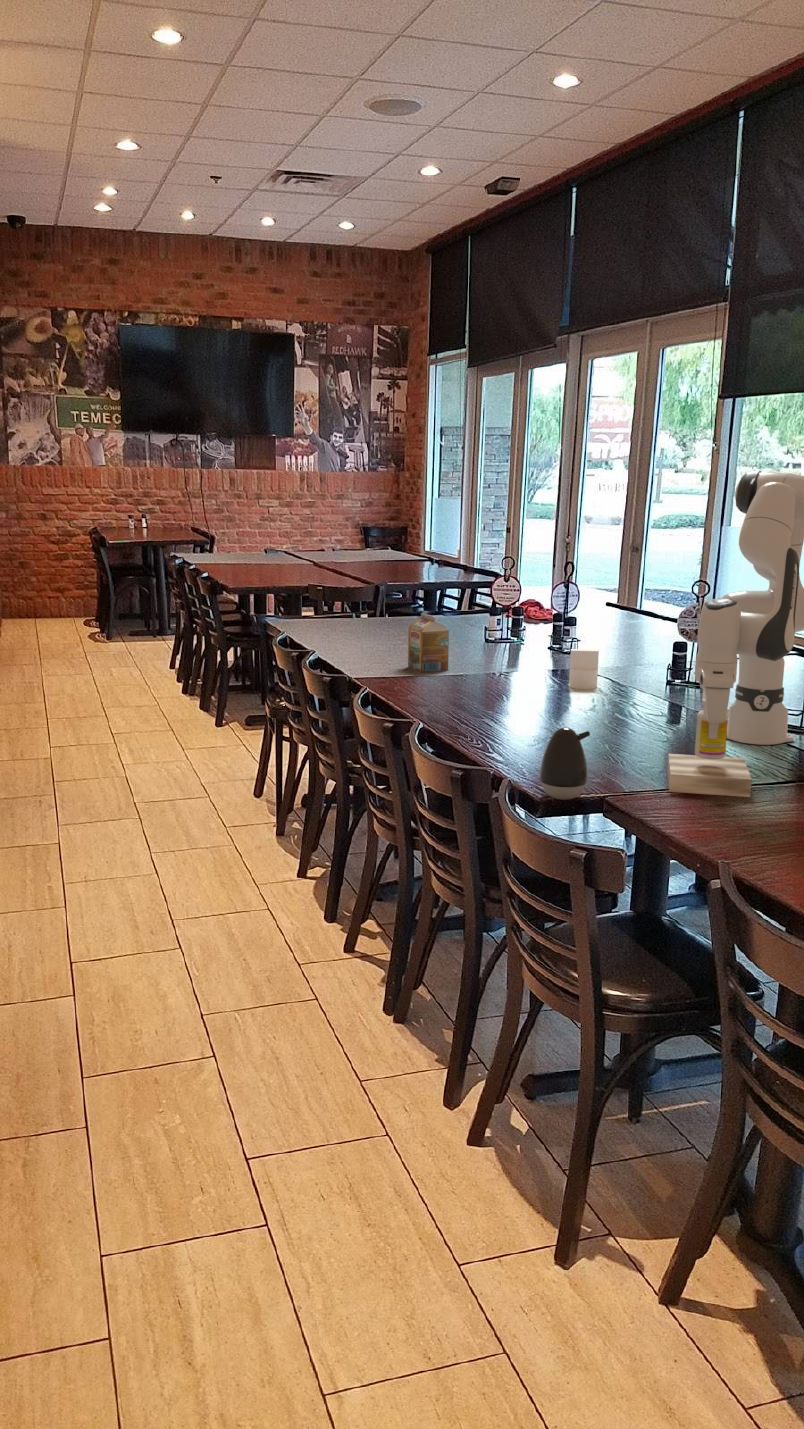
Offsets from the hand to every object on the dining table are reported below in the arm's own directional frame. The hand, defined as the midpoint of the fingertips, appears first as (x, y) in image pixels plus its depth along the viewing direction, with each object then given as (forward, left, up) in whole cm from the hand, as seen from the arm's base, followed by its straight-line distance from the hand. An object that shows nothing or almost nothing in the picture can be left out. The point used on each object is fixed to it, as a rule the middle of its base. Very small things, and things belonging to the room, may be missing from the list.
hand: (711, 734), depth 243 cm
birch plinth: (0, 0, -11) cm, 11 cm away
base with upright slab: (-107, -33, -12) cm, 113 cm away
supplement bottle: (0, 0, -5) cm, 5 cm away
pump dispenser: (+18, -31, -12) cm, 38 cm away
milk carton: (-126, -88, -12) cm, 154 cm away
